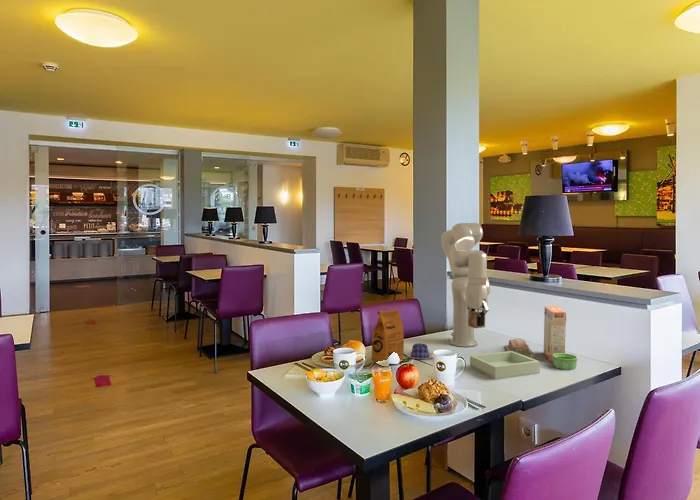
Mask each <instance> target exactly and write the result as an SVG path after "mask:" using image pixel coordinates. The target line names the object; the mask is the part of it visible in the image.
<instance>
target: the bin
mask: <svg viewBox="0 0 700 500" xmlns="http://www.w3.org/2000/svg"><path fill="white" fill-rule="evenodd" d="M540 363H541V362H540V361H539V360H537V359H535V358H529V357H527V356H524V355H521V354H519V353H516V352H513V351H507V350H506V351H500V352H491V353H483V354H475V355H474V354H473V355H470V356H469V367H470V368H471V369H474V370H476V371H478V372H479V373H482V374H484V375H485V376H488V377H490V379H491V378H492V379H494V380H501V379H509V378H515V377H516V378H517V377H521V376H523V377H524V376H529V375H535V374H540V372H541V371H540V370H541V365H540Z"/></svg>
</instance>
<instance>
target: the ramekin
mask: <svg viewBox="0 0 700 500" xmlns="http://www.w3.org/2000/svg"><path fill="white" fill-rule="evenodd" d="M552 363H553V367H555V368H557V369H559V368H560V369H559V370H568V371H569V370H575V369H576V368H577V363H578V356H577V355H574V354H571V353H566V352H565V353H555V354H553V362H552Z"/></svg>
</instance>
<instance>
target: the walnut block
mask: <svg viewBox="0 0 700 500" xmlns="http://www.w3.org/2000/svg"><path fill="white" fill-rule="evenodd" d="M481 312H482V311H480V313H481ZM477 316H478V311H477V310H476V311H472V312H468V326H470V327H473V328H474V329H481V328H486V315H485V316H484V326H477Z"/></svg>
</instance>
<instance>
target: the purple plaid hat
mask: <svg viewBox="0 0 700 500" xmlns="http://www.w3.org/2000/svg"><path fill="white" fill-rule="evenodd" d="M432 354H433V353H432V352H430V351H429V348H428V345H427V344H426V343H421V342H420V343H419V342H418V343H414V344H413V345H412V348H411V351H409V352H407V353H405V356H406V357H408V358H411V359H415V360H428V359H432V358H433V357H432Z"/></svg>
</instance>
